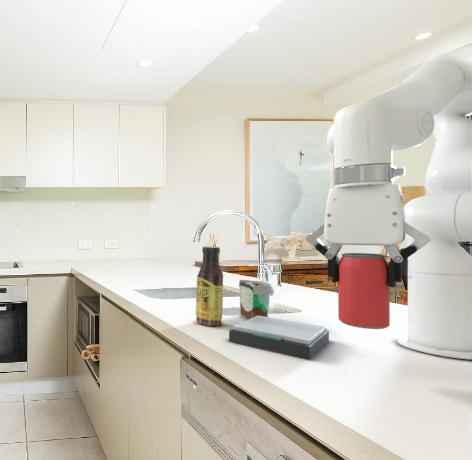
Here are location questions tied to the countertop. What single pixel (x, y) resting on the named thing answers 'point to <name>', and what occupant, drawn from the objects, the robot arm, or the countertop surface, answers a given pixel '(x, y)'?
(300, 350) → the scale
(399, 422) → the countertop surface
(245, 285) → the food container
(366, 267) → the beer can
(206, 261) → the sauce bottle
